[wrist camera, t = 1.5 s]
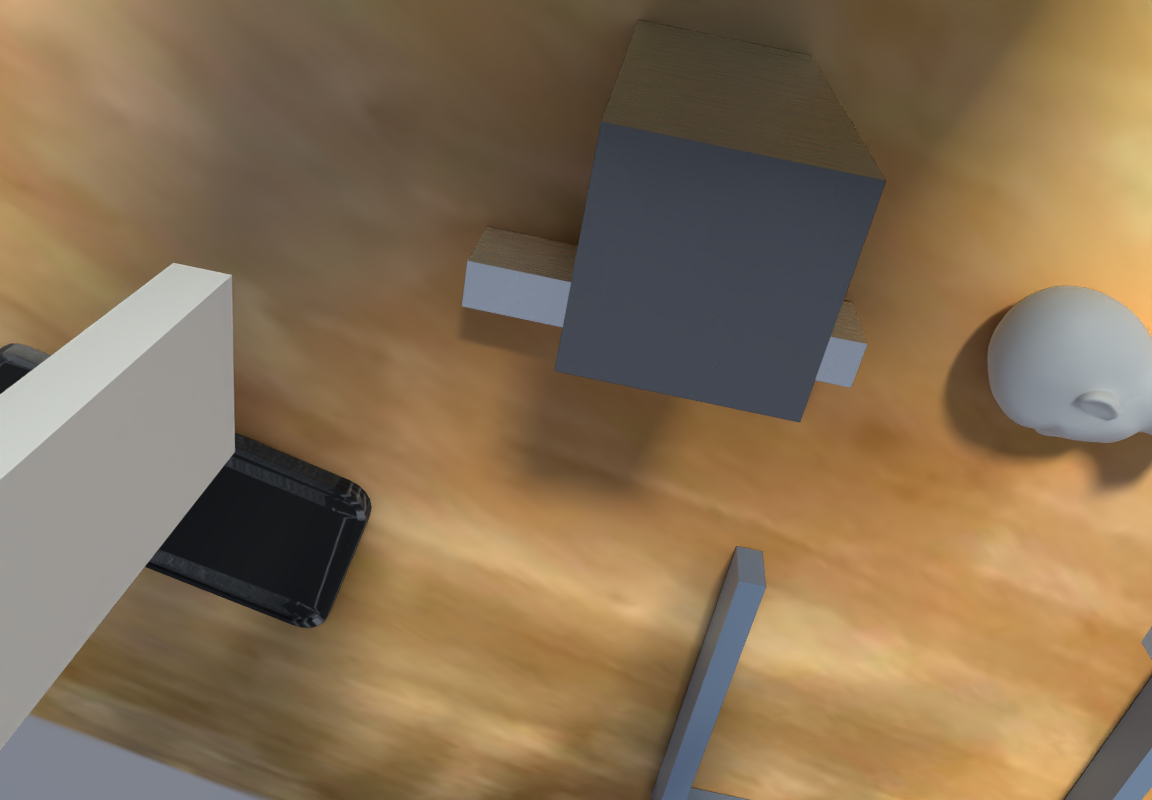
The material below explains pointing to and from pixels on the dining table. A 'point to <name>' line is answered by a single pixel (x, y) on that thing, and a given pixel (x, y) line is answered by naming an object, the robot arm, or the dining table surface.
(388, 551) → the dining table surface
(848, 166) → the grey block with bar
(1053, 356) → the pale two-lobed sculpture
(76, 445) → the robot arm
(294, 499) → the phone
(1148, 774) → the frame
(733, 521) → the dining table surface
